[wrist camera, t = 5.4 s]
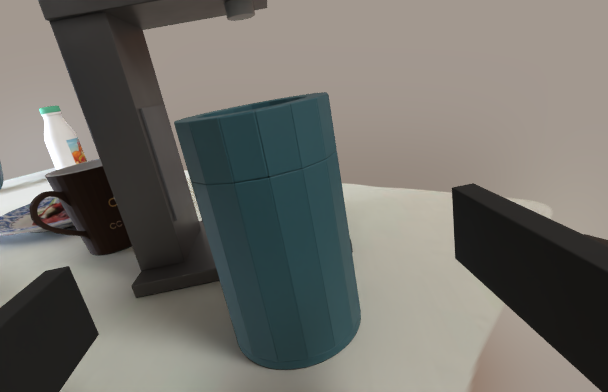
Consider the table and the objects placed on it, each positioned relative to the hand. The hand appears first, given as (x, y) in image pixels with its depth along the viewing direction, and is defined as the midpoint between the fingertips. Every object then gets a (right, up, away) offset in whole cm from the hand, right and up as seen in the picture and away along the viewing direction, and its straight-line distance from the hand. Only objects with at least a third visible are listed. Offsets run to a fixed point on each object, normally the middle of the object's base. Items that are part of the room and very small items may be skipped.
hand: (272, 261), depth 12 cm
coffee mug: (-23, -4, +30) cm, 38 cm away
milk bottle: (-64, +7, +88) cm, 109 cm away
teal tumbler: (+1, -6, +11) cm, 13 cm away
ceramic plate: (-37, -1, +49) cm, 61 cm away
